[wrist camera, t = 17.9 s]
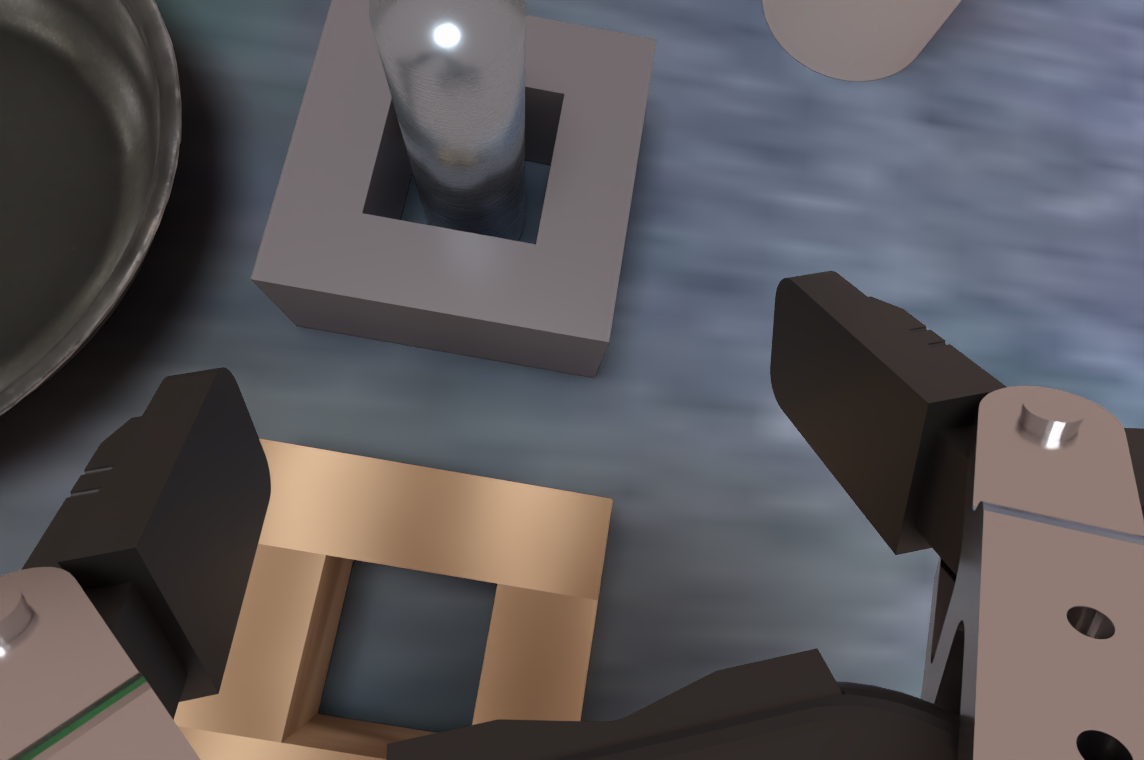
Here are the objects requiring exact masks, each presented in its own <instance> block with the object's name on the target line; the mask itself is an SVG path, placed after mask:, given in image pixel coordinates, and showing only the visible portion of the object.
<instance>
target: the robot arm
mask: <svg viewBox="0 0 1144 760" xmlns="http://www.w3.org/2000/svg"><path fill="white" fill-rule="evenodd" d="M770 374H771V383H772V388H773V392H774V395H775V398H776V400H777V402H778V404H779V406H780V408H781V409H782V410H783V412H784V413H785V414H786V415H787V417H788V418H789V419H790V421H791V422H792V423H793V424H794V426H795V427H796V428H797V429H798V431H799V432H800V433H801V435H802V436H803V437H804V438H805V440H806V441H807V442H808V444H809V445H810V446H811V447H812V449H813V450H814V451H815V453H816V454H817V455H818V456H819V458H820V459H821V460H822V461H823V463H824V464H825V465H826V467H827V468H828V469H829V470H830V472H831V473H832V474H833V476H834V477H835V478H836V479H837V481H838V482H839V483H840V484H841V486H842V487H843V488H844V490H845V491H846V492H847V493H848V495H849V496H850V497H851V499H852V500H853V501H854V502H855V504H856V505H857V506H858V507H859V509H860V510H861V511H862V513H863V514H864V515H865V516H866V518H867V519H868V520H869V522H870V523H871V524H872V525H873V527H874V528H875V529H876V530H877V532H878V533H879V534H880V536H881V537H882V538H883V539H884V541H885V542H886V543H887V545H888V546H889V547H890V548H891V550H892V551H893V552H894V553H895V555H898V554H903V553H908V552H913V551H918V550H922V549H927V548H933V549H934V550H935V551H936V553H937V554H938V555H939V556H940V558H939V562H938V565H937V569H936V573H935V577H934V587H933V596H932V605H931V614H930V623H929V632H928V641H927V650H926V660H925V669H924V678H923V686H922V693H921V699H920V698H917V697H914V696H911V695H908V694H905V693H902V692H898V691H894V690H890V689H886V688H882V687H878V686H873V685H866V684H858V683H851V682H836V681H835V679H834V677H833V675H832V674H831V672H830V670H829V668H828V667H827V665H826V663H825V661H824V660H823V658H822V656H821V654H820V653H819V651H818V649H813V650H809V651H804V652H800V653H795V654H791V655H786V656H782V657H777V658H773V659H768V660H763V661H759V662H754V663H750V664H745V665H741V666H736V667H732V668H727V669H723V670H718V671H716V672H714V673H712V674H710V675H708V676H706V677H704V678H702V679H700V680H698V681H696V682H694V683H692V684H690V685H688V686H686V687H684V688H682V689H680V690H678V691H676V692H674V693H672V694H670V695H668V696H666V697H665V698H663V699H661V700H659V701H657V702H655V703H653V704H651V705H649V706H647V707H645V708H643V709H641V710H639V711H637V712H635V713H633V714H631V715H629V716H627V717H625V718H622V719H620V720H615V721H608V722H592V721H549V720H506V719H497V720H493V721H488V722H484V723H479V724H475V725H470V726H466V727H461V728H457V729H452V730H448V731H443V732H439V733H434V734H430V735H425V736H421V737H416V738H412V739H407V740H403V741H398V742H394V743H389V744H387V756H386V760H1144V429H1136V428H1123V426H1122V424H1121V423H1120V422H1119V420H1118V419H1117V418H1116V417H1115V416H1114V415H1113V414H1112V413H1110V412H1109V411H1107V410H1106V409H1105V408H1103V407H1101V406H1100V405H1098V404H1096V403H1094V402H1092V401H1090V400H1088V399H1085V398H1083V397H1080V396H1078V395H1075V394H1072V393H1069V392H1065V391H1061V390H1057V389H1051V388H1046V387H1037V386H1013V387H1006V386H1005V385H1003V384H1002V383H1001V382H999V381H998V380H997V379H995V378H994V377H993V376H991V375H990V374H989V373H987V372H986V371H985V370H983V369H982V368H981V367H979V366H978V365H977V364H975V363H974V362H973V361H971V360H970V359H969V358H967V357H966V356H965V355H963V354H962V353H961V352H959V351H958V350H957V349H955V348H954V347H953V346H951V345H950V344H949V345H946V344H945V340H943V339H942V338H941V337H940V336H938V335H937V334H936V333H934V332H933V331H932V330H926V326H925V325H924V324H922V323H921V322H920V321H918V320H917V319H916V318H914V317H913V316H912V315H910V314H909V313H908V312H906V311H905V310H904V309H901V308H899V307H896V306H894V305H891V304H889V303H886V302H883V301H881V300H878V299H876V298H873V297H867V296H866V295H864V294H863V293H862V292H861V291H859V290H858V289H857V288H856V287H854V286H853V285H852V284H850V283H849V282H848V281H847V280H845V279H844V278H843V277H842V276H840V275H839V274H838V273H836V272H834V271H827V272H821V273H815V274H809V275H802V276H796V277H790V278H784V279H782V280H781V281H780V283H779V285H778V287H777V291H776V297H775V311H774V324H773V338H772V352H771V366H770ZM84 471H85V475H81V476H80V478H79V479H78V481H77V482H76V484H75V486H74V487H73V489H72V490H71V492H70V493H71V497H70V498H66V500H65V501H64V503H63V505H62V506H61V508H60V509H59V511H58V513H57V514H56V516H55V517H54V519H53V520H52V522H51V524H50V525H49V527H48V528H47V530H46V532H45V533H44V535H43V536H42V538H41V539H40V541H39V543H38V544H37V546H36V547H35V549H34V551H33V552H32V554H31V555H30V557H29V559H28V560H27V562H26V563H25V565H24V567H23V568H22V570H19V571H16V572H12V573H9V574H6V575H3V576H1V577H0V760H200V758H199V757H198V755H197V754H196V752H195V751H194V749H193V748H192V746H191V745H190V744H189V742H188V741H187V739H186V738H185V736H184V735H183V733H182V732H181V730H180V729H179V727H178V726H177V725H176V723H175V722H174V717H175V713H176V710H177V707H178V704H179V702H182V701H187V700H192V699H197V698H201V697H206V696H211V695H216V694H219V691H220V687H221V683H222V679H223V675H224V672H225V668H226V664H227V660H228V656H229V653H230V649H231V645H232V641H233V637H234V634H235V630H236V626H237V622H238V618H239V615H240V611H241V607H242V603H243V599H244V596H245V592H246V588H247V584H248V580H249V577H250V573H251V569H252V565H253V561H254V558H255V554H256V550H257V546H258V542H259V539H260V535H261V531H262V527H263V524H264V520H265V516H266V512H267V508H268V505H269V501H270V495H271V478H270V471H269V466H268V462H267V458H266V455H265V453H264V450H263V447H262V445H261V442H260V440H259V437H258V435H257V432H256V430H255V427H254V425H253V422H252V420H251V417H250V415H249V412H248V409H247V407H246V404H245V402H244V399H243V397H242V394H241V392H240V389H239V387H238V384H237V382H236V380H235V378H234V376H233V375H232V373H231V372H230V371H229V370H228V369H226V368H217V369H210V370H204V371H198V372H192V373H186V374H179V375H173V376H168V377H166V378H164V380H163V381H162V383H161V384H160V386H159V388H158V390H157V391H156V393H155V395H154V396H153V398H152V400H151V402H150V403H149V405H148V407H147V409H146V410H145V412H144V414H143V415H142V416H141V417H135V418H131V419H130V420H129V421H127V422H126V423H125V424H124V425H123V426H121V427H120V428H119V429H118V430H117V431H115V432H114V433H113V434H112V435H111V436H109V437H108V438H107V439H106V440H104V441H103V442H102V443H101V444H100V446H99V447H98V449H97V451H96V452H95V454H94V455H93V457H92V459H91V460H90V462H89V463H88V465H87V466H86V468H85V470H84Z"/></svg>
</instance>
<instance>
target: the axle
mask: <svg viewBox="0 0 1144 760" xmlns="http://www.w3.org/2000/svg"><path fill="white" fill-rule="evenodd" d="M369 18H370V23H371V26H372V30H373V33H374V37H375V40H376V44H377V48H378V51H379V55H380V58H381V62H382V65H383V69H384V72H385V76H386V79H387V83H388V86H389V90H390V93H391V97H392V100H393V104H394V107H395V111H396V114H397V118H398V122H399V125H400V129H401V132H402V136H403V139H404V143H405V146H406V150H407V153H408V157H409V160H410V164H411V167H412V171H413V174H414V178H415V181H416V185H417V188H418V192H419V196H420V199H421V203H422V206H423V210H424V213H425V217H426V220H427V224H428V225H430V226H436V227H442V228H447V229H453V230H458V231H464V232H469V233H475V234H481V235H486V236H492V237H497V238H503V239H508V240H514V241H519V239H520V237H521V234H522V231H523V227H524V168H525V47H526V6H525V0H369Z"/></svg>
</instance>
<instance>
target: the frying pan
mask: <svg viewBox="0 0 1144 760" xmlns="http://www.w3.org/2000/svg"><path fill="white" fill-rule="evenodd" d="M181 126H182V112H181V93H180V84H179V76H178V68H177V62H176V58H175V53H174V49H173V44H172V41H171V39H170V36H169V33H168V31H167V28H166V25H165V23H164V20H163V18H162V16H161V14H160V11H159V8H158V6H157V4H156V2H155V0H0V416H1V415H2V414H4V413H5V412H6V411H8V410H9V409H11V408H12V407H13V406H14V405H15V404H16V403H18V402H19V401H21V400H22V399H24V398H25V397H27V396H28V395H30V394H31V393H33V392H34V391H35V390H36V389H38V388H39V387H40V386H41V385H43V384H44V383H45V382H46V381H48V380H49V379H50V378H51V377H53V376H54V375H55V374H56V373H57V372H58V371H59V370H61V369H62V368H63V367H64V366H65V365H66V364H67V363H68V362H69V361H70V360H71V359H73V358H74V357H75V356H76V355H77V354H78V353H79V352H80V351H81V350H82V349H83V348H84V347H85V346H86V345H87V343H88V342H89V341H90V340H91V339H92V338H93V337H94V336H95V335H96V334H97V332H98V331H99V330H100V329H101V327H102V326H103V325H104V324H105V322H106V321H107V320H108V319H109V317H110V316H111V315H112V314H113V312H114V311H115V309H116V308H117V306H118V305H119V303H120V302H121V300H122V299H123V297H124V296H125V294H126V293H127V291H128V289H129V288H130V286H131V284H132V283H133V281H134V280H135V278H136V276H137V274H138V272H139V270H140V268H141V266H142V264H143V262H144V260H145V258H146V256H147V253H148V251H149V249H150V247H151V244H152V242H153V239H154V236H155V234H156V231H157V229H158V227H159V224H160V222H161V219H162V216H163V213H164V210H165V208H166V205H167V202H168V200H169V197H170V193H171V189H172V185H173V181H174V177H175V173H176V169H177V164H178V156H179V145H180V142H181Z"/></svg>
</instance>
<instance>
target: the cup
mask: <svg viewBox="0 0 1144 760" xmlns="http://www.w3.org/2000/svg"><path fill="white" fill-rule="evenodd" d="M960 2H961V0H762V4H763V10H764V14H765V18H766V21H767V23H768V25H769V28H770V30H771V31H772V33H773V35H774V36H775V38H776V39H777V41H778V42H779V43H780V45H781V46H782V47H783V48H784V49H785V50H786V51H787V52H788V53H789V54H790V55H791V56H792V57H793V58H795V59H796V60H797V61H799V62H800V63H802V64H803V65H805V66H806V67H808V68H810V69H812V70H814V71H816V72H818V73H820V74H823V75H826V76H829V77H832V78H836V79H841V80H847V81H871V80H877V79H881V78H885V77H887V76H890V75H893V74H895V73H897V72H899V71H900V70H902V69H904V68H905V67H906V66H908V65H909V64H910V63H911V62H912V61H913V60H914V59H915V58H916V57H917V56H918V55H919V53H920V52H921V51H922V50H923V48H924V47H925V46H926V44H927V43H928V42H929V41H930V39H931V38H932V37H933V36H934V34H935V33H936V32H937V31H938V29H939V28H940V27H941V26H942V24H943V23H944V22H945V21H946V19H947V18H948V17H949V15H950V14H951V13H952V12H953V10H954V9H955V8H956V7H957V5H958V4H959V3H960Z"/></svg>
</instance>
